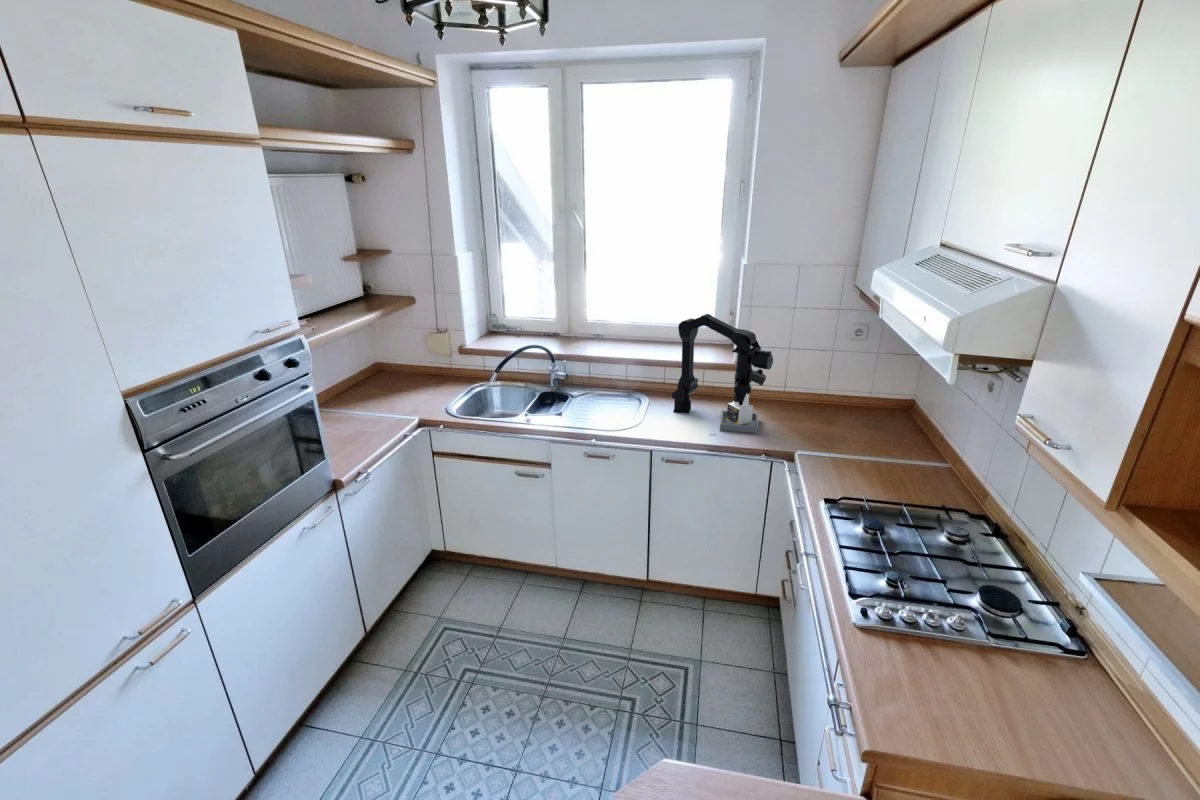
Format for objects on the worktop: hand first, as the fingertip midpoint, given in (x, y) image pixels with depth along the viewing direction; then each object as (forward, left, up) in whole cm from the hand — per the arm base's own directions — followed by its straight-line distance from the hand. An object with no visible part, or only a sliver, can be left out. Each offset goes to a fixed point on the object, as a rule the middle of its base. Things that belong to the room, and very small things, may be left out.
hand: (740, 402), depth 222 cm
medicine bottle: (0, 0, -8) cm, 8 cm away
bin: (0, 0, -10) cm, 10 cm away
